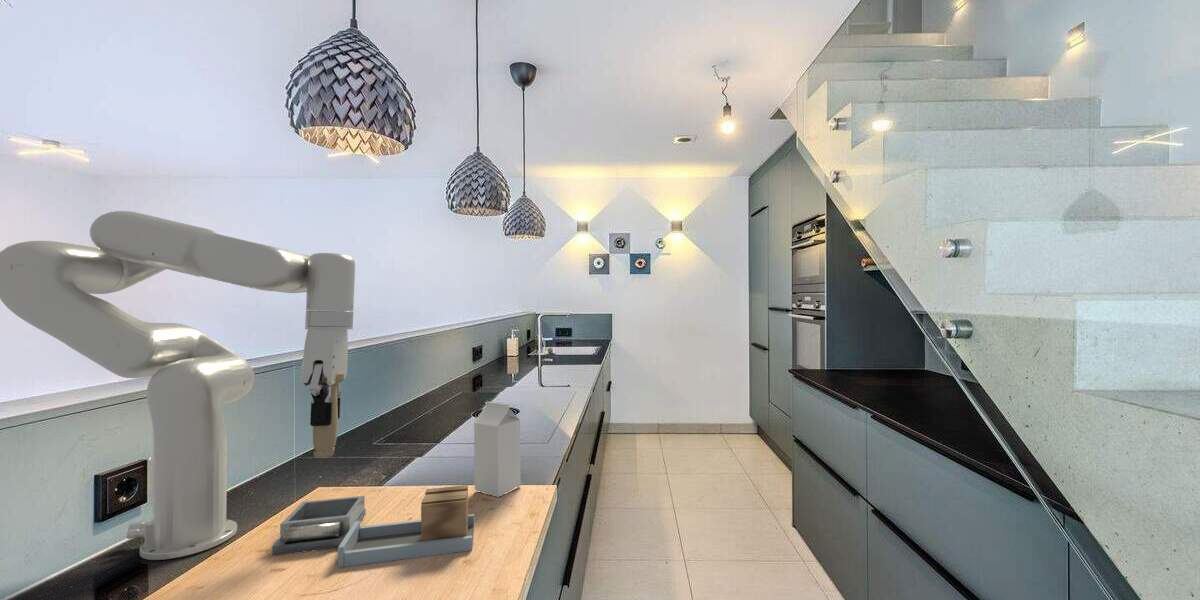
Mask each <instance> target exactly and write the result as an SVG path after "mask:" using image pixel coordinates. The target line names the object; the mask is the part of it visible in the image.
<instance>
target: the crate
mask: <svg viewBox="0 0 1200 600" xmlns="http://www.w3.org/2000/svg"><path fill="white" fill-rule="evenodd" d="M424 494H425V495H424V497H423V499H422V500H421V505H420V517H421V518H420V520H421V542H423V541H431V540H439V539H448V538H456V537H464V536H467V532H468V514H469V485H468V484H465V485H455V486H446V487H445V486H444V487H436V488H426V490H425V491H424Z"/></svg>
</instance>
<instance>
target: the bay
mask: <svg viewBox="0 0 1200 600" xmlns="http://www.w3.org/2000/svg"><path fill="white" fill-rule="evenodd" d="M474 531H475V513H471V514H470V513H468V532H467V536H464V537H456V538H448V539H439V540H431V541H423V542H421V519H416V520H407V521H399V522H390V523H382V524H381V523H380V524H373V525H372V524H371V525H370V524H369V525H362V526H361V525H360V521H355V523H354V524H353V526H352V527H351V529H350V530H349V532H348V533H347V535H346V536H345V538H344V539H343V541H342V542H341V544H340V545H339V547H338V548H337V568H343V567H351V566H352V567H353V566H360V565H367V564H369V565H370V564H376V563H383V562H391V561H399V560H406V559H413V558H420V557H421V558H422V557H429V556H430V557H431V556H438V555H439V556H440V555H445V554H446V555H447V554H452V553H462V552H469V551H473V544H474Z"/></svg>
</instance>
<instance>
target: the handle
mask: <svg viewBox="0 0 1200 600" xmlns="http://www.w3.org/2000/svg"><path fill="white" fill-rule="evenodd" d="M344 380H345V378H344V372H342V373H340V374H337V376H336V381H335V382H336V383H335V384H333V385H332V388H331V398H330V402H332V421H331V424H330V425H329V426H312V445H313V448H314V450H313V457H314V458H315V459H326V458H331V457H333V456H334V454H335V450H336V447H335V446H336V445H337V437H338V426H339V419H338V405H337V398H338V397H337V388H338V384H339V383H340V382H341V383H342V382H343V381H344ZM326 381H327V380H323V381H321V385H327V383H326ZM321 389H324V391H325V394H326V388H321Z"/></svg>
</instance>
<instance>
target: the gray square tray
mask: <svg viewBox="0 0 1200 600" xmlns="http://www.w3.org/2000/svg"><path fill="white" fill-rule="evenodd" d="M365 502H366V500H365V495H359V496H358V495H357V496H347V497H338V498H337V497H336V498H327V499H317V500H305V501H302V502H301V503H300V504H299V505H298V506H297V507H296V508H295V509H294V510H293V511H292V512H291V513H290V514H289V515H288V516H287V517H286V518H285V519H284V520H283V521H282V522H281V523H279V539H277V541H276V542H275V543H274V544H273V545H272V546H271V556H272V557H273V555H275V556H281V554H283V555H289V553H291V554H296V553H295V552H300V553H304V552H303V551H308V552H313V551H312V550H316V551H322V550H321V549H325V550H330V549H332V548H333V549H338V547H339V545H340V544H341V542H342V541H343V539H344V538H345V536H346V535H347V533H348V532H349V530H350V529H351V527H352V526H353V524H354V523H355V521H360V523H361V521H362V520H363V518H364V516H365V515H367V514H366V513H367V512H366V509H367V508H365V506H366V505H365ZM364 519H365V518H364ZM363 521H364V520H363ZM361 524H362V523H361Z"/></svg>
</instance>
